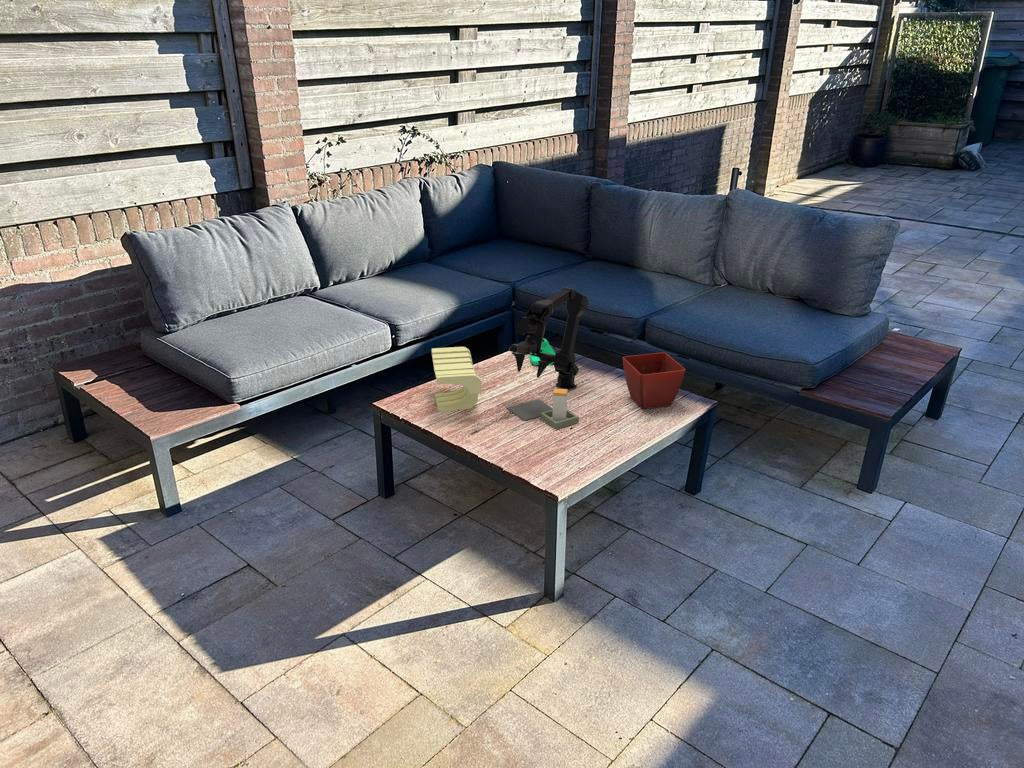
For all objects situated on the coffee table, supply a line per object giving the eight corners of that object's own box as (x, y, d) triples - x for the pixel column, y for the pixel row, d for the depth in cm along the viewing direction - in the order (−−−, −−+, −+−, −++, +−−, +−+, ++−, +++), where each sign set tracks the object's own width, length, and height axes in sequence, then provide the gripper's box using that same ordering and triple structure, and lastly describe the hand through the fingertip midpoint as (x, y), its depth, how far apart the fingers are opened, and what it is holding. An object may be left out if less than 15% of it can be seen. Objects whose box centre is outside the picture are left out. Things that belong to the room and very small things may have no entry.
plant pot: (637, 414, 315) (641, 374, 308) (619, 394, 331) (621, 356, 325) (682, 408, 319) (686, 369, 312) (661, 389, 336) (665, 352, 329)
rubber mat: (538, 400, 325) (538, 398, 325) (556, 412, 315) (556, 410, 315) (506, 408, 318) (506, 407, 318) (524, 421, 308) (524, 419, 308)
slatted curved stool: (481, 417, 311) (481, 374, 303) (440, 420, 308) (439, 377, 301) (470, 386, 338) (470, 346, 330) (432, 388, 335) (431, 348, 328)
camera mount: (533, 367, 357) (533, 345, 353) (529, 360, 364) (529, 339, 360) (559, 365, 360) (560, 343, 356) (554, 358, 367) (555, 337, 363)
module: (553, 418, 311) (554, 388, 306) (566, 418, 310) (567, 389, 305) (552, 422, 307) (553, 392, 302) (565, 423, 306) (566, 393, 301)
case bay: (562, 412, 315) (562, 406, 314) (578, 422, 307) (579, 416, 306) (540, 418, 310) (540, 412, 309) (556, 429, 302) (556, 423, 301)
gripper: (504, 329, 310) (497, 369, 312) (543, 340, 299) (535, 381, 302) (521, 330, 319) (514, 368, 321) (560, 341, 308) (552, 380, 311)
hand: (528, 374), depth 314 cm, fingers open, 9 cm apart
